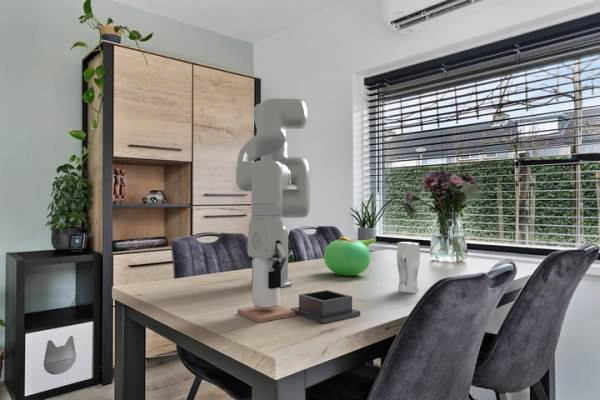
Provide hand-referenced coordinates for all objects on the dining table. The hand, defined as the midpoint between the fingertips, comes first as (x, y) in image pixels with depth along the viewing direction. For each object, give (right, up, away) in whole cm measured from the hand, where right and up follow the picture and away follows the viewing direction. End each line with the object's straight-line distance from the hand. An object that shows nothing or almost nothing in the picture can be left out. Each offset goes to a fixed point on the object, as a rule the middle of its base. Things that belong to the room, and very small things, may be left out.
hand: (266, 284), depth 100 cm
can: (0, -5, 0) cm, 5 cm away
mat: (0, -7, 0) cm, 7 cm away
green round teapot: (+26, -8, +56) cm, 62 cm away
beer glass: (+42, -8, +28) cm, 51 cm away
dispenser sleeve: (+14, -7, +1) cm, 16 cm away
